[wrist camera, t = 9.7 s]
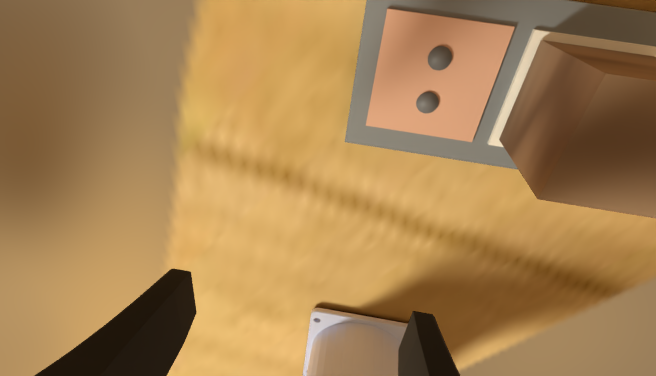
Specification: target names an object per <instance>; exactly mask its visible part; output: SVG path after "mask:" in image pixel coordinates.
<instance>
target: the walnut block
mask: <svg viewBox="0 0 656 376" xmlns="http://www.w3.org/2000/svg"><path fill="white" fill-rule="evenodd" d="M499 140H500V142H501V143H502V145H503V147H504V148H505V150H506V151H507V153H508V154H509V156H510V157H511V159H512V160H513V162H514V164H515V165H516V167H517V168H518V170H519V171H520V173H521V174H522V176H523V177H524V179H525V180H526V182H527V184H528V185H529V187H530V188H531V190H532V191H533V193H534V194H535V196H536V197H537V199H540V200H546V201H552V202H558V203H564V204H571V205H577V206H583V207H589V208H595V209H601V210H608V211H614V212H620V213H626V214H632V215H638V216H645V217H651V218H656V57H654V56H648V55H641V54H635V53H628V52H621V51H614V50H607V49H600V48H593V47H587V46H580V45H573V44H566V43H559V42H552V41H546V40H541V41H540V43H539V46H538V48H537V51H536V53H535V55H534V58H533V60H532V62H531V65H530V67H529V70H528V72H527V74H526V77H525V79H524V81H523V84H522V86H521V89H520V91H519V93H518V96H517V98H516V100H515V103H514V105H513V107H512V110H511V112H510V115H509V117H508V119H507V122H506V124H505V126H504V129H503V131H502V134H501V136H500V138H499Z"/></svg>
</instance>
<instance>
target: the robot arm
mask: <svg viewBox="0 0 656 376" xmlns="http://www.w3.org/2000/svg"><path fill="white" fill-rule="evenodd" d="M195 315H196V306H195V299H194V292H193V284H192V277H191V272H189V271H184V270H178V269H171V270H169V271H168V272H167V273H166V274H165V275H164V276H163V277H161V278H160V279H159V280H158V281H157V282H156V283H155V284H154V285H152V286H151V287H150V288H149V289H148V290H147V291H145V292H144V293H143V294H142V295H141V296H140V297H138V298H137V299H136V300H135V301H134V302H133V303H131V304H130V305H129V306H128V307H126V308H125V309H124V310H123V311H122V312H120V313H119V314H118V315H117V316H116V317H114V318H113V319H112V320H111V321H109V322H108V323H107V324H106V325H104V326H103V327H102V328H101V329H99V330H98V331H97V332H95V333H94V334H93V335H91V336H90V337H89V338H88V339H86V340H85V341H83V342H82V343H81V344H79V345H78V346H77V347H75V348H74V349H73V350H71V351H70V352H68V353H67V354H66V355H64V356H63V357H61V358H60V359H59V360H57V361H56V362H54V363H53V364H51V365H50V366H48V367H47V368H46V369H44V370H42V371H41V372H39V373H38V374H36V375H35V376H167V374H168V372H169V370H170V368H171V366H172V365H173V363H174V361H175V359H176V357H177V355H178V353H179V351H180V350H181V348H182V346H183V344H184V342H185V339H186V337H187V335H188V332H189V330H190V327H191V325H192V322H193V320H194V317H195ZM303 376H460V374H459V372H458V370H457V368H456V366H455V364H454V362H453V359H452V357H451V355H450V353H449V350H448V348H447V346H446V344H445V341H444V339H443V337H442V334H441V332H440V329H439V327H438V324H437V322H436V319H435V317H434V316H433V315H432V314H427V313H421V312H416V311H413V312H412V315H411V318H410V320H409V323H408V324H407V323H402V322H396V321H391V320H385V319H379V318H374V317H368V316H363V315H357V314H351V313H346V312H340V311H335V310H329V309H323V308H314V309H313V310H312V313H311V319H310V326H309V334H308V341H307V348H306V355H305V363H304V370H303Z"/></svg>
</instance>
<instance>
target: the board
mask: <svg viewBox="0 0 656 376" xmlns="http://www.w3.org/2000/svg"><path fill="white" fill-rule="evenodd" d="M541 40H546V41H552V42H559V43H566V44H573V45H580V46H587V47H593V48H600V49H607V50H614V51H621V52H628V53H635V54H641V55H648V56H654V57H656V12H650V11H643V10H636V9H629V8H622V7H615V6H607V5H600V4H593V3H586V2H579V1H571V0H367V2H366V8H365V15H364V21H363V28H362V34H361V41H360V47H359V54H358V60H357V66H356V73H355V79H354V86H353V92H352V99H351V105H350V112H349V118H348V124H347V131H346V137H345V142H348V143H355V144H361V145H367V146H373V147H380V148H386V149H392V150H399V151H405V152H411V153H418V154H424V155H430V156H436V157H443V158H449V159H455V160H462V161H468V162H474V163H480V164H487V165H493V166H499V167H506V168H512V169H518V168H517V167H516V165H515V164H514V162H513V160H512V159H511V157H510V156H509V154H508V153H507V151H506V150H505V148H504V147H503V145H502V143H501V142H500V140H499V138H500V136H501V134H502V131H503V129H504V126H505V124H506V122H507V119H508V117H509V115H510V112H511V110H512V107H513V105H514V103H515V100H516V98H517V96H518V93H519V91H520V89H521V86H522V84H523V81H524V79H525V77H526V74H527V72H528V70H529V67H530V65H531V62H532V60H533V58H534V55H535V53H536V51H537V48H538V46H539V43H540V41H541Z"/></svg>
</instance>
